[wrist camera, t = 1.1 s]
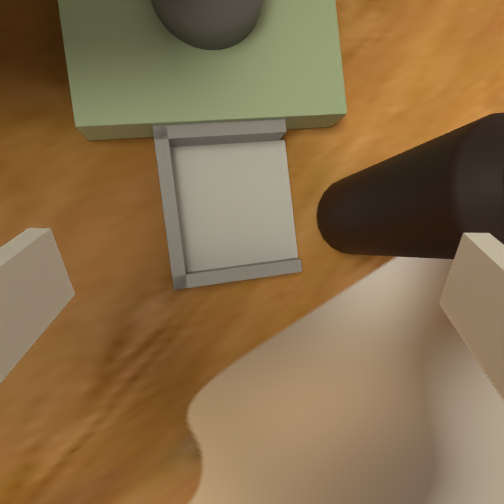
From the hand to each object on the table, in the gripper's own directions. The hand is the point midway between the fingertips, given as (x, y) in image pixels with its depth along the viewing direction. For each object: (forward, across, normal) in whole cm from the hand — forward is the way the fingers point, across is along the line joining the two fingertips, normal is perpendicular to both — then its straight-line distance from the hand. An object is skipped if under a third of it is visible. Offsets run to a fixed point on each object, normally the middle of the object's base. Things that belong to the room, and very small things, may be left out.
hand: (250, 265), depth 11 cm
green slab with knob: (+20, -4, +2) cm, 20 cm away
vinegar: (+18, +8, -6) cm, 21 cm away
